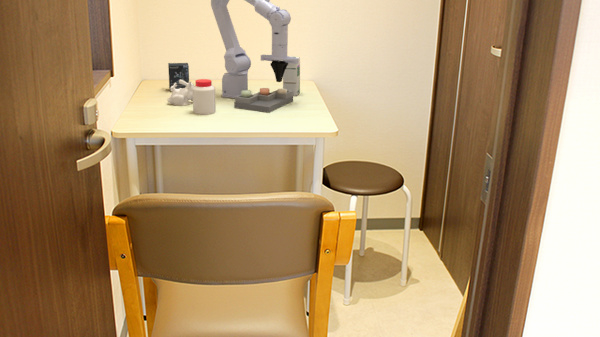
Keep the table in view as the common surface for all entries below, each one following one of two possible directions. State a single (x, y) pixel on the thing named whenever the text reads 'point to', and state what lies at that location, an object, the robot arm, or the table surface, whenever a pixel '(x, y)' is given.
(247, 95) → the button sage
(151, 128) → the table surface
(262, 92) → the button terracotta
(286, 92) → the button cream
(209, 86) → the pill bottle
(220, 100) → the table surface
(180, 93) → the rabbit figurine
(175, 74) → the box
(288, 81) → the syrup box
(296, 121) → the table surface
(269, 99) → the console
